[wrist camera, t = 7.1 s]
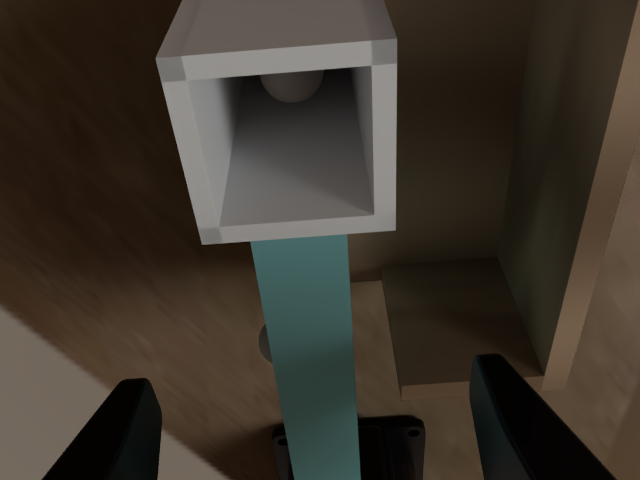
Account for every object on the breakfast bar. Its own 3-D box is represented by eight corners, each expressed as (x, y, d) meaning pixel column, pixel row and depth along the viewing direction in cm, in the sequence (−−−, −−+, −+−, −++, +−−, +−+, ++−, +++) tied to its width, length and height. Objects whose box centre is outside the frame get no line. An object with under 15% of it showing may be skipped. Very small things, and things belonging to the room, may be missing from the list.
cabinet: (501, 240, 20) (564, 389, 15) (265, 257, 20) (255, 411, 15) (560, -158, 13) (708, -109, 8) (200, -127, 13) (146, -60, 9)
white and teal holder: (365, 270, 19) (393, 485, 13) (270, 276, 19) (260, 494, 13) (353, -88, 12) (396, 37, 7) (212, -75, 12) (147, 58, 7)
